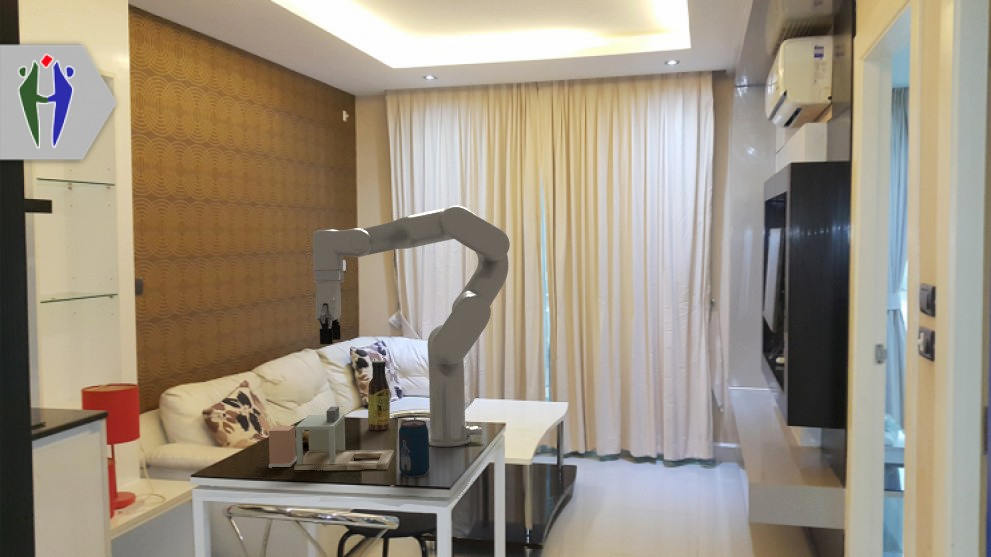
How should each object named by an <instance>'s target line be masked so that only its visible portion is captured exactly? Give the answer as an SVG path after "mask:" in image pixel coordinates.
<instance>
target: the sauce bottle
mask: <svg viewBox="0 0 991 557" xmlns="http://www.w3.org/2000/svg"><path fill="white" fill-rule="evenodd" d="M386 366H387V363H386V361H385V360H372V361H371V367H372V374H371V375H372V377H371V379H370V381H369V383H368V393H367V414H368V415H367V423H368V430H371V431H374V432H375V431H385V430H388V429H389V428H390V423H391V422H390V421H391V420H390V419H391V412H390V411H391V407H390V406H391V405H390V404H391V399H390V397H391V394H390V390H391V389H390V387H389V383H388V380H387V376H386V375H387V374H386Z"/></svg>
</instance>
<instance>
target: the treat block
mask: <svg viewBox="0 0 991 557" xmlns="http://www.w3.org/2000/svg"><path fill="white" fill-rule="evenodd" d="M295 427H296V425H275V426H273V427H272V428H270V429H269V430H268V452H269V454H268V455H269V464H270V463H291V462H292V461H293V460H294V459H295V458H296V456H297V452H296V444H295Z"/></svg>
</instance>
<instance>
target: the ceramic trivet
mask: <svg viewBox="0 0 991 557" xmlns="http://www.w3.org/2000/svg"><path fill="white" fill-rule="evenodd" d="M295 462H297V455H296V458H295V459H294V460H293V461H292V462H291V463H270V462H269V464H268V469H273V468H272V467H292V466H293V464H295Z"/></svg>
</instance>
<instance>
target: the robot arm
mask: <svg viewBox="0 0 991 557" xmlns="http://www.w3.org/2000/svg"><path fill="white" fill-rule="evenodd" d="M312 237H313V238H312V243H313V244H312V245H313V248H312V249H313V250H312V251H313V270H314V271H313V275H314V276H313V279H314V280H313V281H314V284H316V289H315V320H316V321H317V322H319V344H320V345H333V342H334V341H339V340H341V339H342V338H341V336H342V335H341V319H340V317H341V316H342V298H341V297H342V295H341V283H344V282H345V281H344V280H345V279H344V278H345V277H344V257H353V258H361V257H366V256H370V255H373V254H374V255H375V254H380V253H384V252H391V251H395V250H402V249H403V250H405V249H407V250H408V249H412V248H417V247H421V246H422V247H423V246H425V245H427V246H428V245H431V244H436V243H441V242H446V241H450V240H456V241H457V242H458V243H459V244H462V245H463V246H465V247H467V248H468V249H470V250H472V251H473V252H475V254H476V256H477V260H478V261H477V267H476V269H475V270H474V273H473V274H472V275H471V277H470V279H469V281H468V282H467V284H466V285H465V286H464V287H463V289H462V290H461V292H460V293H459V295H458V296H457V297H456V299H455V300H454V301H453V303H452V305H451V313H450V314H449V315H448V317H447V318H446V320H445V321H444V322H443V324H442V325H441V324H440V325H438V326H436V327H435V328H434V329H432V330H431V332H430V334H429V336H428V338H427V357H428V358H427V359H428V382H429V384H428V386H429V387H428V388H429V390H428V391H429V393H428V394H429V396H428V397H429V446H433V447H438V448H439V447H441V448H442V447H443V448H444V447H446V448H447V447H449V448H450V447H459V446H463V445H466V444H469V443H470V442H471V441H472V436H473V435H474V436H482V434H483V428H482V427H478V426H468V424H467V423H468V422H467V421H466V407H465V406H466V404H465V403H466V402H465V401H466V400H465V394H466V393H465V392H466V391H465V362H464V358H466V357H467V354H468V353H469V352H471V349H472V348H473V346H474V345H475V343H476V342H477V340H478V339H479V338H480V337H481V334H483V332H484V330H485V329H486V327H487V325H488V323H489V321H490V318H491V315H492V310H491V309H492V308H491V305H492V304H493V302H494V301H495V299H496V298H497V296H498V294H499V292H500V291H501V290H502V288H503V286H504V285H505V282H506V280H507V277H508V273H509V256H508V253H509V251H510V244H511V243H510V239H509V237H508V235H507V234H506V232H505V231H503V230H502V229H500V228H499V227H498V226H495V225H494V224H492V223H491V222H490V221H488V220H486V219H484V218H482V217H481V216H479V215H477V214H476V213H475V212H473V211H471V210H469V209H468V208H466V207H464V206H460V205H452V206H449V207H445V208H440V209H436V210H431V211H426V212H422V213H416V214H412V215H411V214H410V215H406V216H403V217H400V218H398V219H396V220H392V221H389V222H386V223H382V224H377V225H372V226H367V227H364V228H363V227H362V228H360V227H359V228H357V227H356V228H350V229H343V230H339V229H318V230H315V231H314V232H313V236H312Z"/></svg>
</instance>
